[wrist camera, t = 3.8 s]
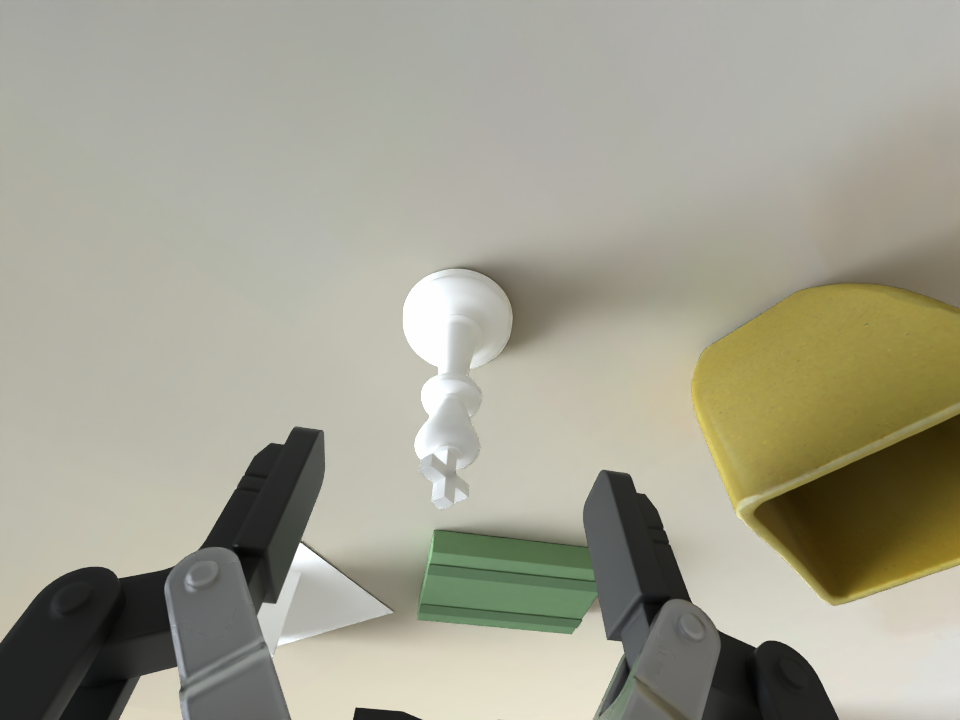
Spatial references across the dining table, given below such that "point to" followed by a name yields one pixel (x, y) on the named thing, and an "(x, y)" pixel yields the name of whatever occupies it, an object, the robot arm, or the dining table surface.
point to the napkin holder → (314, 602)
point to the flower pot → (841, 434)
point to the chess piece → (453, 368)
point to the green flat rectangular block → (506, 583)
